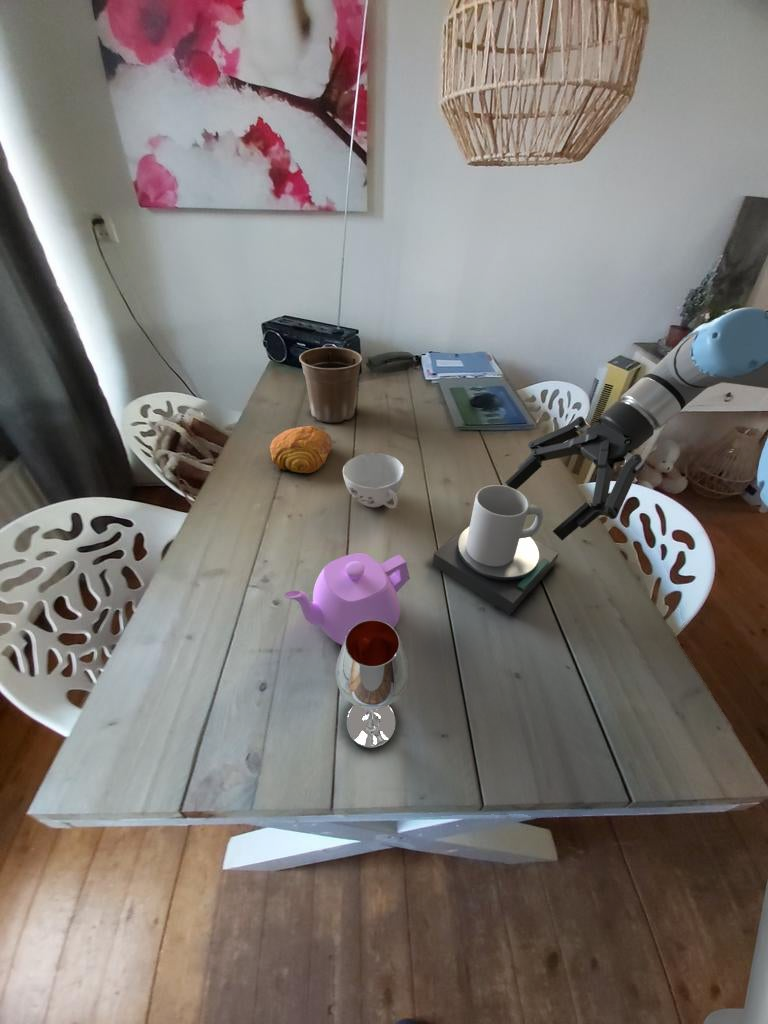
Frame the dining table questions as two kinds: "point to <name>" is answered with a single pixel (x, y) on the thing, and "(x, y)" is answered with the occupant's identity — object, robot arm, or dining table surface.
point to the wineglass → (371, 680)
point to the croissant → (301, 449)
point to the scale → (490, 589)
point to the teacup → (374, 479)
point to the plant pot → (331, 382)
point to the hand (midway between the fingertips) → (531, 510)
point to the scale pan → (514, 570)
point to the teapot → (354, 594)
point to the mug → (499, 524)
